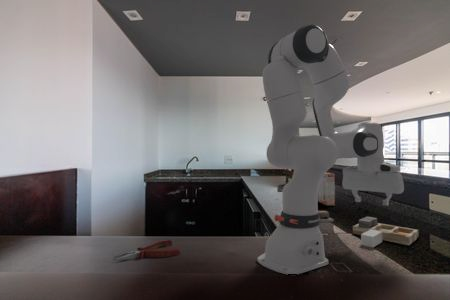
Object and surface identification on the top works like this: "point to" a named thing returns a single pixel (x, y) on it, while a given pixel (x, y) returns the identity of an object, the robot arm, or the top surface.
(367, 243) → the white rectangular block
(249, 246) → the top surface
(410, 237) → the rack
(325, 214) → the packaged product
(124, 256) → the pliers
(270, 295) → the top surface
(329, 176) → the cracker box
